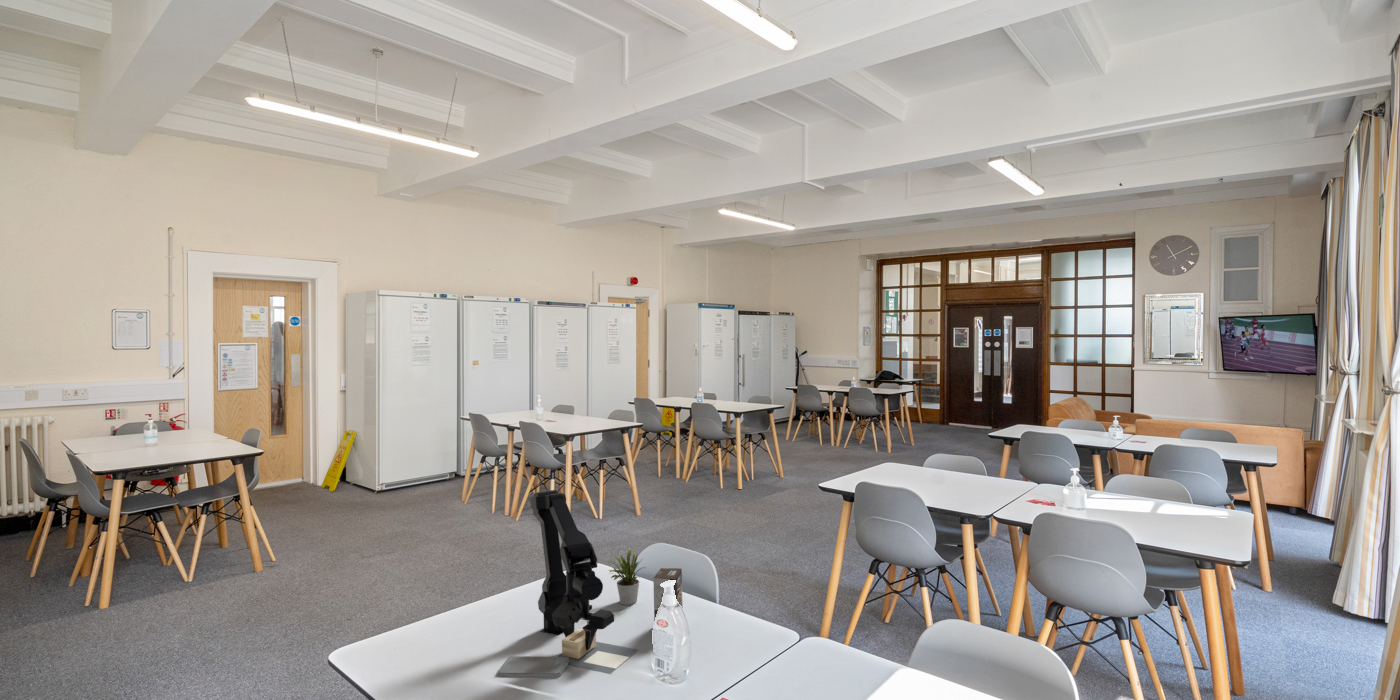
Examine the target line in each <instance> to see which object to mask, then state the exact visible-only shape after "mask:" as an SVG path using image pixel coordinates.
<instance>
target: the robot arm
mask: <svg viewBox="0 0 1400 700" xmlns="http://www.w3.org/2000/svg"><path fill="white" fill-rule="evenodd" d="M529 500H530V508H531V509H532V512H533V516H534V517H535V518H536V520H537V521H538V522H539V523H540V531H541V539H542V548H543V554H544V564H545V573H546V575H545V578H544V579H543V583H542V584H541V585H542V586H541V590H542V591H541V594H540V596H539V598H538V601H537V607H538V610H539V612H540V613H542V614H543V628H542V629H541V630H539V631H540V633H544V634H549V635H550V634H551V635H555V636H560V635H561V634H563V635H564V638H566V637H567V636H569V635H570V634H572V633H573V632H575V626H576V625H575V624H577V623H579V621H580V620H583V621H586V624H585V625H584V626H582V628H583V630H584V631H585V644H586V650H589V649H590V647H591V644H592V641H593V639H594V636H595V634H596V635H597V631H598V630H604V629H606V628H607V627H608V626H610V625H611V624H612V623H614V622H615V615H614V614H615V613H614V612H613V610H612V611H611V610H607V609H601V608H600V609H598V610H597V611H595V612H594V613H593V612H590V611H591V610H593V605H592V604H590V601H593V600H596V599H598V598H599V597H600V595H602V593H603V588H604V584H603V581H602V580H601V579H600V577H598V576H597V575H596V572H595V571H594V570H593V569H596V568H598V563H597V562H598V558H597V555H596V553H595V549H594V547H593V545H592V543H591V541H590V540H589V539H588V537H587V536H586V533H584V532H582V531H581V530H579V529H578V527H577V525H576V522H575V520H574V517H573V514H572V513H571V510H570V508H569V506H568V503H567V497H566V494H565V493H564V492H558V491H557V489H552V490H544V491H537V492H534V494H533V496H531V497H530V499H529ZM560 540H561V544H560ZM563 566H564V567H563ZM564 569H565V573H564Z"/></svg>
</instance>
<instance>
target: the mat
mask: <svg viewBox="0 0 1400 700" xmlns="http://www.w3.org/2000/svg"><path fill="white" fill-rule="evenodd" d="M638 651H639V652H640V649H637V648H632V647H628V646H621V645H616V644H611V643H606V642H600V641H596V646H595V647H594V648H593V649H591V650H590V651H588V652H587V653H586V654H584V655H583V656H582V657H580V658H579V659H577V658H572V657H568V658H569V663H568V665H567V666H570V667H575V668H581V669H585V670H589V671H594V672H600V673H604V674H609V675H611V674H613V673H614V672H615V671H616V670H617V669H619V667H621V666H622V665H624V663H626V662H627V661H628V660H629V659H631V657H633V656H635V654H636V653H638ZM556 657H567V656H562V652H561V653H560V654H559V655H557V656H556Z"/></svg>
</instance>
